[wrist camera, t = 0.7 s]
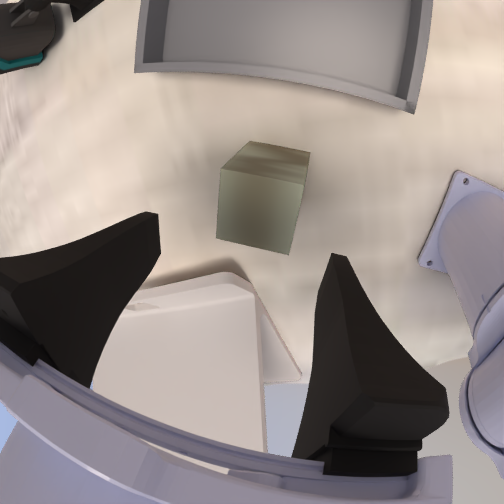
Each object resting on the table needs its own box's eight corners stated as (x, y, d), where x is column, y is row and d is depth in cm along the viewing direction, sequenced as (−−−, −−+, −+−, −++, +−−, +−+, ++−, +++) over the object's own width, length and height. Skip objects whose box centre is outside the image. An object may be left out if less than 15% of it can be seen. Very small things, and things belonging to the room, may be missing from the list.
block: (310, 152, 18) (304, 185, 13) (298, 206, 20) (288, 255, 15) (250, 140, 18) (220, 168, 13) (243, 194, 21) (216, 238, 16)
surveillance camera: (-29, 13, 4) (-69, 104, 7) (107, 8, 13) (37, 67, 17) (-24, -45, 1) (-73, 49, 4) (97, -37, 11) (28, 25, 14)
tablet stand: (304, 374, 32) (277, 511, 18) (154, 376, 42) (111, 463, 29) (236, 252, 24) (142, 455, 10) (80, 294, 34) (9, 388, 21)
